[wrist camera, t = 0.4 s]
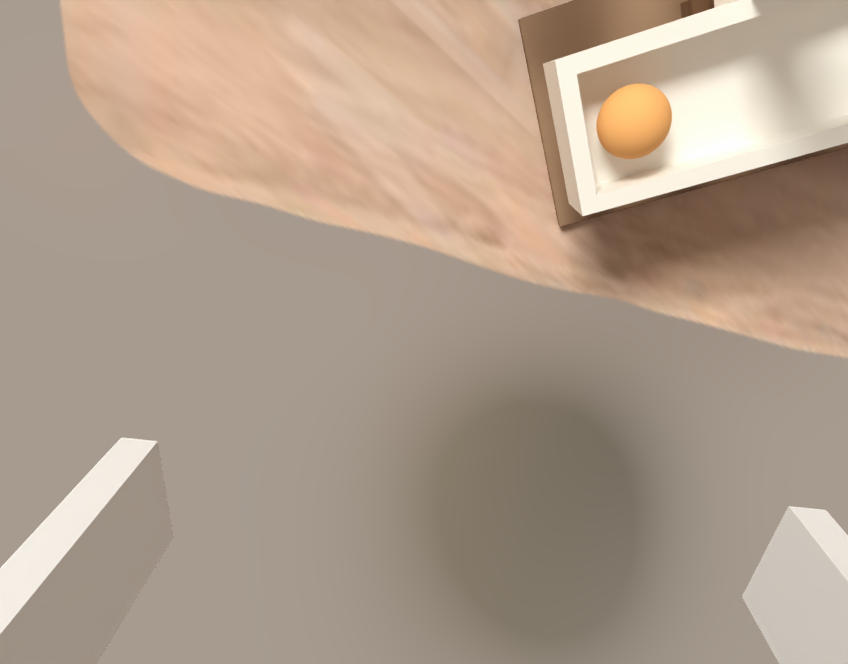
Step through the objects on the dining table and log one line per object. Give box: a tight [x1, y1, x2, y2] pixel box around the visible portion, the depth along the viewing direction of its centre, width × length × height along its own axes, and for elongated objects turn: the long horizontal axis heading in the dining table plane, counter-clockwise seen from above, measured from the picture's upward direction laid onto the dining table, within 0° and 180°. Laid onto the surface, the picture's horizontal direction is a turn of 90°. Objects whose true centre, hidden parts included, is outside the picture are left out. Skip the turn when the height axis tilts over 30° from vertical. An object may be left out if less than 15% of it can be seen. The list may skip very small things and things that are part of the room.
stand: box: [518, 0, 848, 227], centre depth 28 cm, size 18×12×5 cm, turn 107°
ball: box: [596, 84, 672, 159], centre depth 24 cm, size 3×3×3 cm
